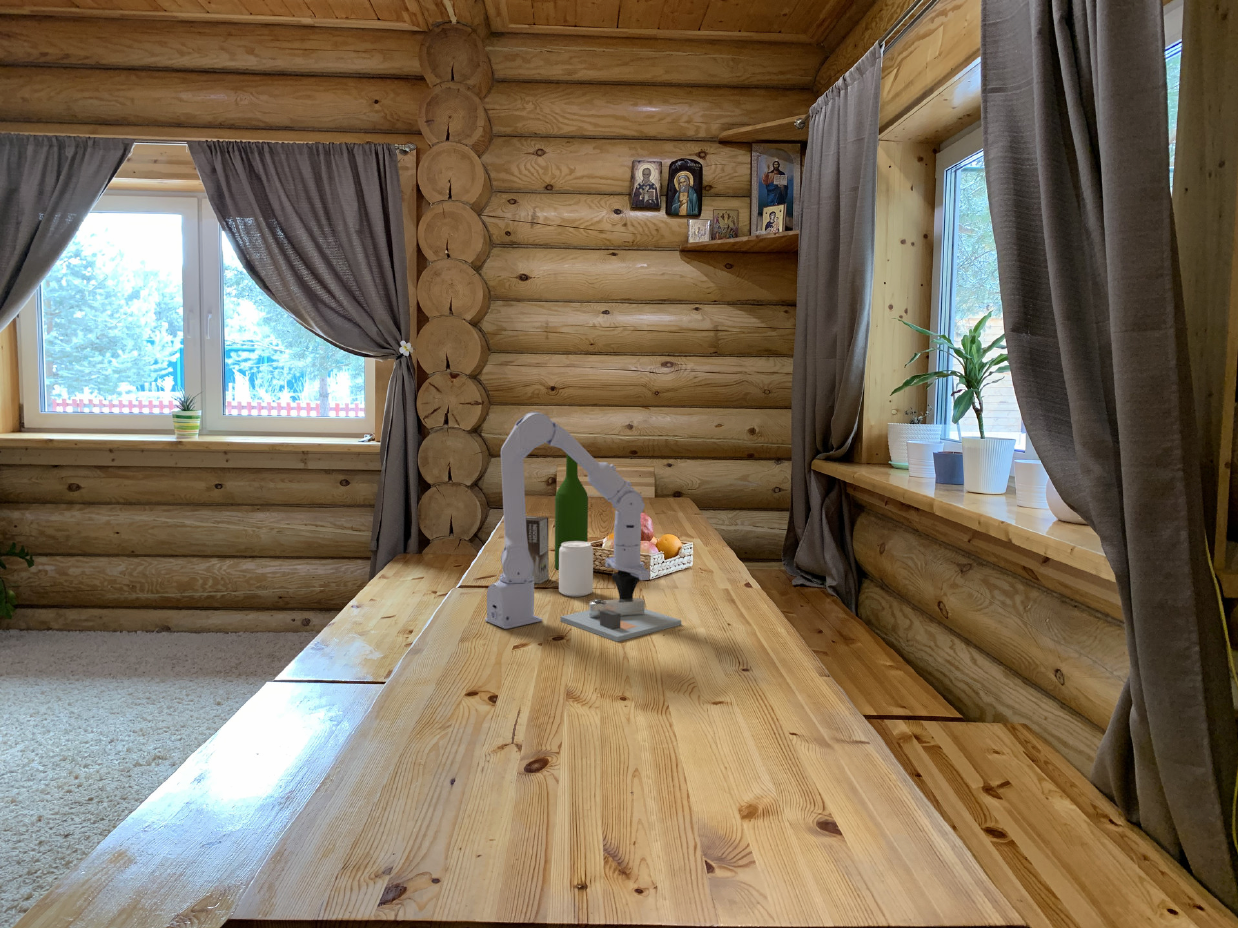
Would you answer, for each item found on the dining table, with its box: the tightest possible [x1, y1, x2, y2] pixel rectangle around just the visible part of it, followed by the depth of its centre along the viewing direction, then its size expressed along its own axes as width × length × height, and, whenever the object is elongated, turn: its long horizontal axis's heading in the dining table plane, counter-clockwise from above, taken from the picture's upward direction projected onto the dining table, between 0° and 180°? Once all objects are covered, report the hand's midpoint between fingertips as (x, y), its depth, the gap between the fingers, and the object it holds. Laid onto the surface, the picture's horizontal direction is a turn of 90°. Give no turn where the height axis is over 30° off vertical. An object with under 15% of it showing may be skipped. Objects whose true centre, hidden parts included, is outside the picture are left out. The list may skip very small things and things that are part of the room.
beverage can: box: [558, 541, 594, 598], centre depth 194 cm, size 8×8×12 cm
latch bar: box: [588, 597, 646, 618], centre depth 173 cm, size 12×4×3 cm, turn 107°
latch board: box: [559, 608, 682, 643], centre depth 170 cm, size 18×18×4 cm
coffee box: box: [526, 515, 550, 584], centre depth 206 cm, size 9×6×16 cm
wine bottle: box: [554, 453, 589, 571], centre depth 220 cm, size 9×9×32 cm
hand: (626, 605), depth 175 cm, fingers closed, pressing on latch bar
